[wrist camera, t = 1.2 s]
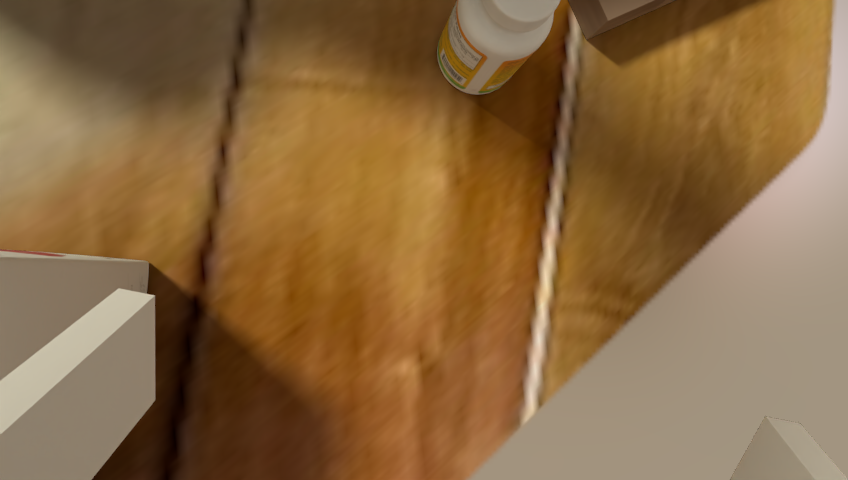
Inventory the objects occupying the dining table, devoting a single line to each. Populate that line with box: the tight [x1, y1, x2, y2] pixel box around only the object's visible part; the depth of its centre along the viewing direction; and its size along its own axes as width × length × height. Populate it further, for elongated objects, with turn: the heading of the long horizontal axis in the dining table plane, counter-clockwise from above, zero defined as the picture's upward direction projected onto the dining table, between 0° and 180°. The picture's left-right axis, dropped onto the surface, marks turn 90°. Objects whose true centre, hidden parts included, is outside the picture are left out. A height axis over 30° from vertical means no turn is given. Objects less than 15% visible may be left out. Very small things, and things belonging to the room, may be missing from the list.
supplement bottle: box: [437, 0, 560, 95], centre depth 31 cm, size 5×5×10 cm
